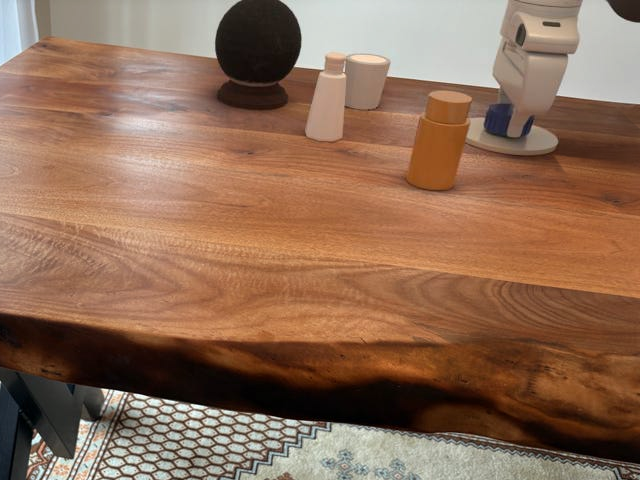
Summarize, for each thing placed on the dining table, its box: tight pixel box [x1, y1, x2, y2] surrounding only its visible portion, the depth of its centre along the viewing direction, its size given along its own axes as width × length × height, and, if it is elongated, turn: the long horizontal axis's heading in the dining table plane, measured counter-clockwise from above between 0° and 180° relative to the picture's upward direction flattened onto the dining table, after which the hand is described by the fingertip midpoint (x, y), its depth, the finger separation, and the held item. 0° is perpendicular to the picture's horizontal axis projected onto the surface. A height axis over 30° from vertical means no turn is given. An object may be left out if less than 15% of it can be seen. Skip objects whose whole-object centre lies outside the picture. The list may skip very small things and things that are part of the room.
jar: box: [405, 90, 473, 191], centre depth 93 cm, size 6×6×10 cm
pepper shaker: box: [304, 52, 347, 143], centre depth 106 cm, size 5×5×11 cm
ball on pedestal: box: [214, 0, 303, 111], centre depth 118 cm, size 13×13×15 cm
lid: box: [483, 103, 536, 137], centre depth 110 cm, size 6×6×3 cm
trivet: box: [465, 117, 559, 156], centre depth 111 cm, size 14×14×1 cm
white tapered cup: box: [344, 53, 392, 111], centre depth 120 cm, size 7×7×7 cm
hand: (506, 127), depth 110 cm, fingers closed on lid, 6 cm apart
